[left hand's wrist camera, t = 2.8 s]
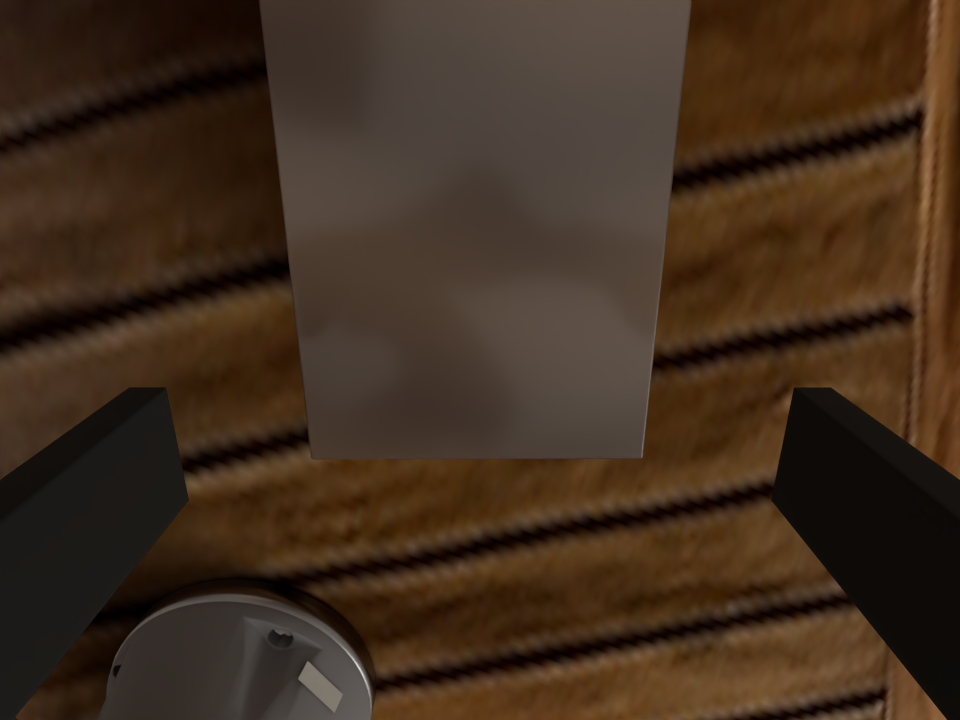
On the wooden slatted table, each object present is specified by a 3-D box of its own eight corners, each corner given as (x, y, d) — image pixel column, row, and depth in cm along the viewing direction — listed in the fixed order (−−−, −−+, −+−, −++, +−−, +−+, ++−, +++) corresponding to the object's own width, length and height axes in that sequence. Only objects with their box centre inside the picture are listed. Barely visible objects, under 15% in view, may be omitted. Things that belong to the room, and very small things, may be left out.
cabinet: (330, -192, 22) (202, -477, 12) (621, -193, 22) (743, -477, 12) (369, 348, 29) (310, 460, 19) (586, 348, 29) (643, 459, 19)
